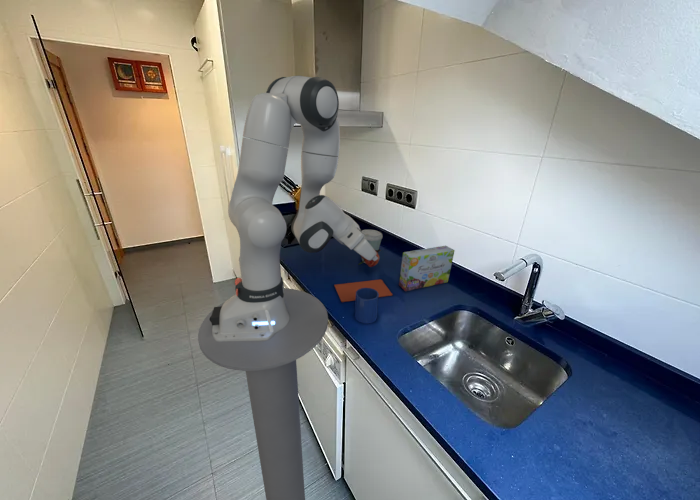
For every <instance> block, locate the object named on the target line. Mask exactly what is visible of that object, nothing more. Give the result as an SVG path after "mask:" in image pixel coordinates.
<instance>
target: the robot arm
mask: <svg viewBox="0 0 700 500" xmlns="http://www.w3.org/2000/svg"><path fill="white" fill-rule="evenodd" d="M339 100H340V99H339V95H338V91H337V88H336V87H335V85H334V84H333V83H332V82H331V81H330V80H328V79H326V78H323V77H319V76H305V75H291V76H281V77H278V78H276V79H275V80H273V81H272V82H271V83H270V84H269V85H268V87H267V88H266V91H265V92H261V93H257V94H255V95H254V97H252V99H251V101H250V103H249V106H248V110H247V114H246V117H245V120H244V121H245V122H244V126H243V133H242V139H241V145H240V146H241V147H240V148H241V149H240V154H239V155H240V156H239V162H238V169H237V174H236V178H235V181H234V183H233V188H232V192H231V196H230V200H229V202H228V205H227V213H228V218H229V221H230V222H231V224H232V225H233V226H234V227H235V230H237V231H236V232H237V234H238V237H239V257H238V264H239V271H240V277H237V278H236V279H235V280H234V285H235V289H234V290H235V294H233V295H232V296H231V297H229V298H228V299H227V300H225V301H223V303H224V304H223V306H220V307H218V306H214V307H213V308H212V310H213V312H212V315H211V317H210V319H209V320H210V322H211V323H212V325H213V328H212V333H213V338H214V339H215V340H216V341H217V342H225V341H258V340H269V339H270V338H271V337H272V336H273V335H274V334H275V333H276V332H278V331H280V330H281V329H283V328H284V327H285V326H286V325H287V324H288V322H289V319H290V316H289V313H288V311H287V308H286V305H285V301H284V288H285V284H284V280H283V277H282V270H281V248H282V242H283V240H284V238H285V237H286V234H287V228H288V227H287V222H286V220H285V218H284V215H283V214H282V212H281V211H280V210H279V208H277V207H276V206H275V205H273V202H274V197H275V194H276V193H277V189H278V187H279V185H280V184H281V183H282V181H283V179H284V177H285V172H286V165H287V160H288V154H289V153H288V152H289V148H290V141H291V140H290V139H291V133H292V130H293V128H294V126H295V125H296V124H298V125H300V127H301V130H302V136H303V137H302V142H301V153H300V172H301V173H300V174H301V186H300V195H299V202H298V208H297V209H298V210H297V212H296V215H295V216H294V218H293V220H292V221H291V232H292V234H293V236H294V237H295V238H296V240H297V242H298V244H299V246H300V248H301V249H302V250H303V251H304V252H306V253H309V254H315V253H319V252H320V251H322V250H324V249H325V247H326V246H327V245H328V244H329V242H330V240H331V239H332V237H333V239H335V240H336V241H337V242H338V243H339V244H341V245H342V246H345V247H347V248H348V249H349V250H350V251H352V250H353V251H354V252H356V253H357V254H358V255H361V256H363V257H364V258H365V259H367V260H369V261H371V260H374V261H376V260H377V259H378V257H377V256H376V254H377V253H376V251H375V250H374V249H373V247H372V246H371V245H370V244H369V243H368V241H367V240H366V239H365V238H364V234H363V233H362V232H361V231H362V229H361V228H360V225H359V224H358V223H357V222H356V221H355V220H354V219H353V218H352V217H351V216H350V215H348V214H346V213H345V212H344V210H343V209H342V208H341V206H340V205H339V204H337V202H335V201H334V200H333V199H331V198H330V197H329V196H328V195H325V194H320V193H321V190H322V189H323V187H324V186H325V185H327V184H329V183H331V182H332V180H333V179H334V178H335V176H336V173H337V169H338V164H339V160H340V159H339V158H340V157H339V156H340V149H341V148H340V147H341V130H340V129H341V128H340V122H339V120H338V119H337V118H338V116H339V115H338V114H339V109H340V102H339ZM361 256H360V257H361Z"/></svg>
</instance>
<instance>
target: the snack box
mask: <svg viewBox="0 0 700 500" xmlns="http://www.w3.org/2000/svg"><path fill="white" fill-rule="evenodd" d="M455 252H456V250H455V249H453V248H451V247H450V246H448V245H439V246H433V247H428V248H422V249H415V250H410V251H404V252H402V257H401V265H400V271H399V272H400V273H399V282H398V286H399V287H400V288H401V289H402V290H403V291H404V292H409V291H414V290H418V289H422V288H428V287H432V286H437V285H441V284H445V283H448V282H449V278H450V274H451V270H452V266H453V260H454V255H455Z"/></svg>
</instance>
